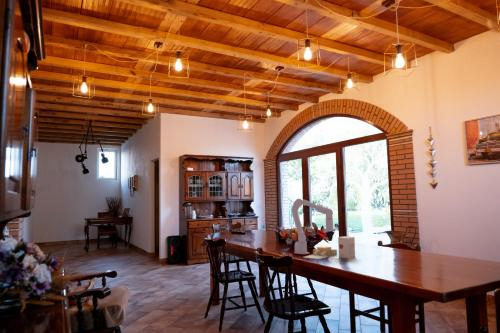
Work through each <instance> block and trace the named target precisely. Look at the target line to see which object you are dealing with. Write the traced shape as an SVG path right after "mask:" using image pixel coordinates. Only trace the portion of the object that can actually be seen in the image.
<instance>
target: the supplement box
mask: <svg viewBox="0 0 500 333" xmlns="http://www.w3.org/2000/svg"><path fill="white" fill-rule="evenodd" d="M337 240H338V244H337V245H338V258H341V259H349V260H350V259H353V258H356V249H355V248H356V243H355V237H354V236H338V238H337Z"/></svg>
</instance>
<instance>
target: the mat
mask: <svg viewBox="0 0 500 333" xmlns="http://www.w3.org/2000/svg"><path fill="white" fill-rule="evenodd" d="M303 258H305V259H312V260H313V259H314V260H322V259H326V258H329V257H328V256H319V255H313V254H309V255H306V256H303Z"/></svg>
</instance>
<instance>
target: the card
mask: <svg viewBox="0 0 500 333" xmlns="http://www.w3.org/2000/svg"><path fill="white" fill-rule="evenodd" d="M316 249H317V250H324V251H329V250H331V249H332V247H331V246H323V245H322V246H316Z"/></svg>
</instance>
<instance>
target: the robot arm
mask: <svg viewBox="0 0 500 333" xmlns="http://www.w3.org/2000/svg"><path fill="white" fill-rule="evenodd" d="M301 206H307V207H309V208H312V209H315V211H316V212H317V213H321V214H323V215H325V229H324V230H323V233H324V234H325V235H326V238H327V241H328V242H332V241H333V238H334V235H335V232H336V228H334V218H333V214H334V212H333V210H332V209H331V208H329V207H326V206H324V205H323V204H315V203H314V202H313V203H312V202H310V201H309V200H306V199H301V198H297V199H296V200H294V202H293V204H292V208H291V214H292V217H293V221H294V225H295V229H296V231H297V240H298V241H295V242H294V254H296V255H297V254H299V255H308V254H310V252H308V246H307V245H308V244H307V241H306V240H307V236H306V234H305V233H304V229H303V226H302V223H301V219H300V216H299V213H298V210H299V209H300V208H301Z"/></svg>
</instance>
